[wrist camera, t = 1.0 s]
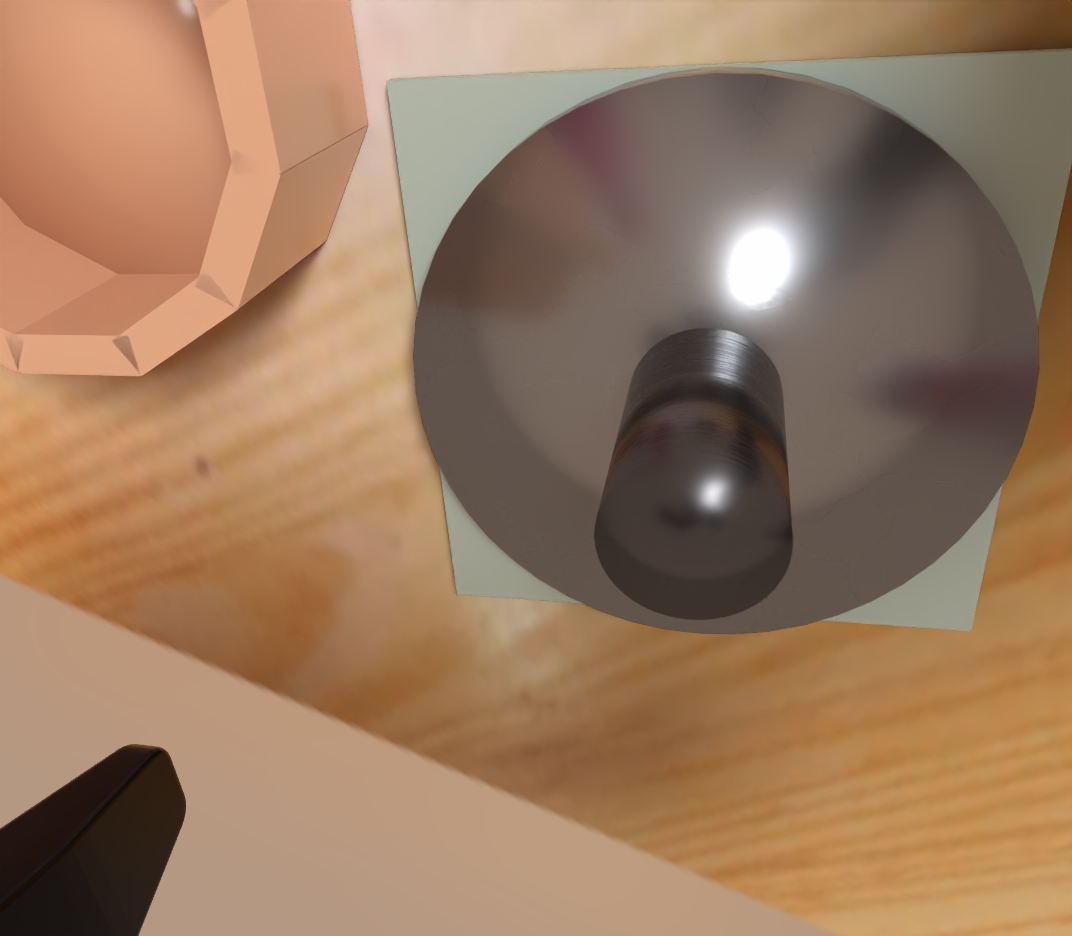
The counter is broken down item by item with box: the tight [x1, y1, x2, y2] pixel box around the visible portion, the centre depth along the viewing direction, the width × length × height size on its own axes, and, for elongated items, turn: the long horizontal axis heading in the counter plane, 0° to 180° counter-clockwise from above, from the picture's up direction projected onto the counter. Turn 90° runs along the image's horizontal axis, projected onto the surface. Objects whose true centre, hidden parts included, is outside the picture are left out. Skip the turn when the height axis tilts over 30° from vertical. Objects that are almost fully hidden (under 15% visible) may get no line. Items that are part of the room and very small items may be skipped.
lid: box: [413, 67, 1039, 634], centre depth 17 cm, size 12×12×6 cm
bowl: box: [0, 0, 368, 376], centre depth 17 cm, size 10×10×4 cm
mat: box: [386, 48, 1072, 631], centre depth 19 cm, size 12×12×1 cm
